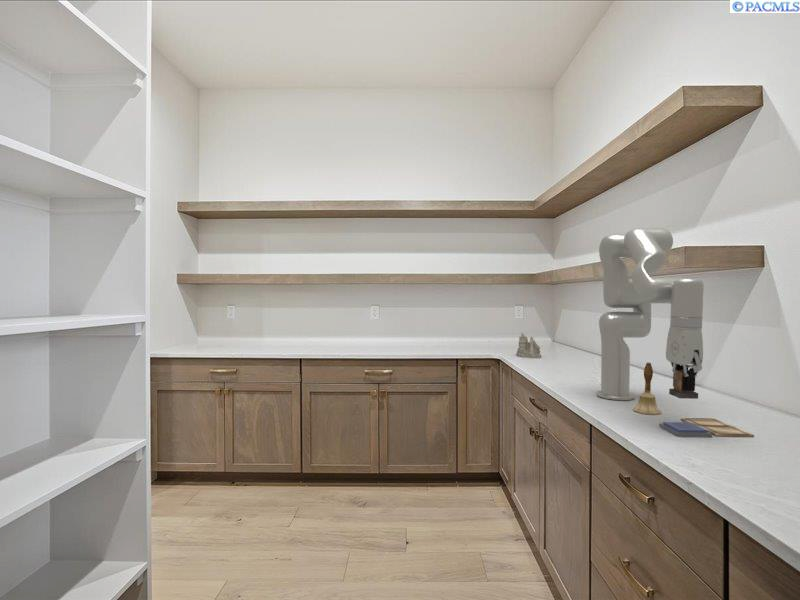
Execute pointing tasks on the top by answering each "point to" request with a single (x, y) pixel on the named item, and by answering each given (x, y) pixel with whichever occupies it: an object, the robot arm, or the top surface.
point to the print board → (718, 427)
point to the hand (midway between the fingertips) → (683, 388)
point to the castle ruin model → (528, 348)
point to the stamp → (678, 387)
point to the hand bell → (647, 395)
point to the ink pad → (685, 429)
